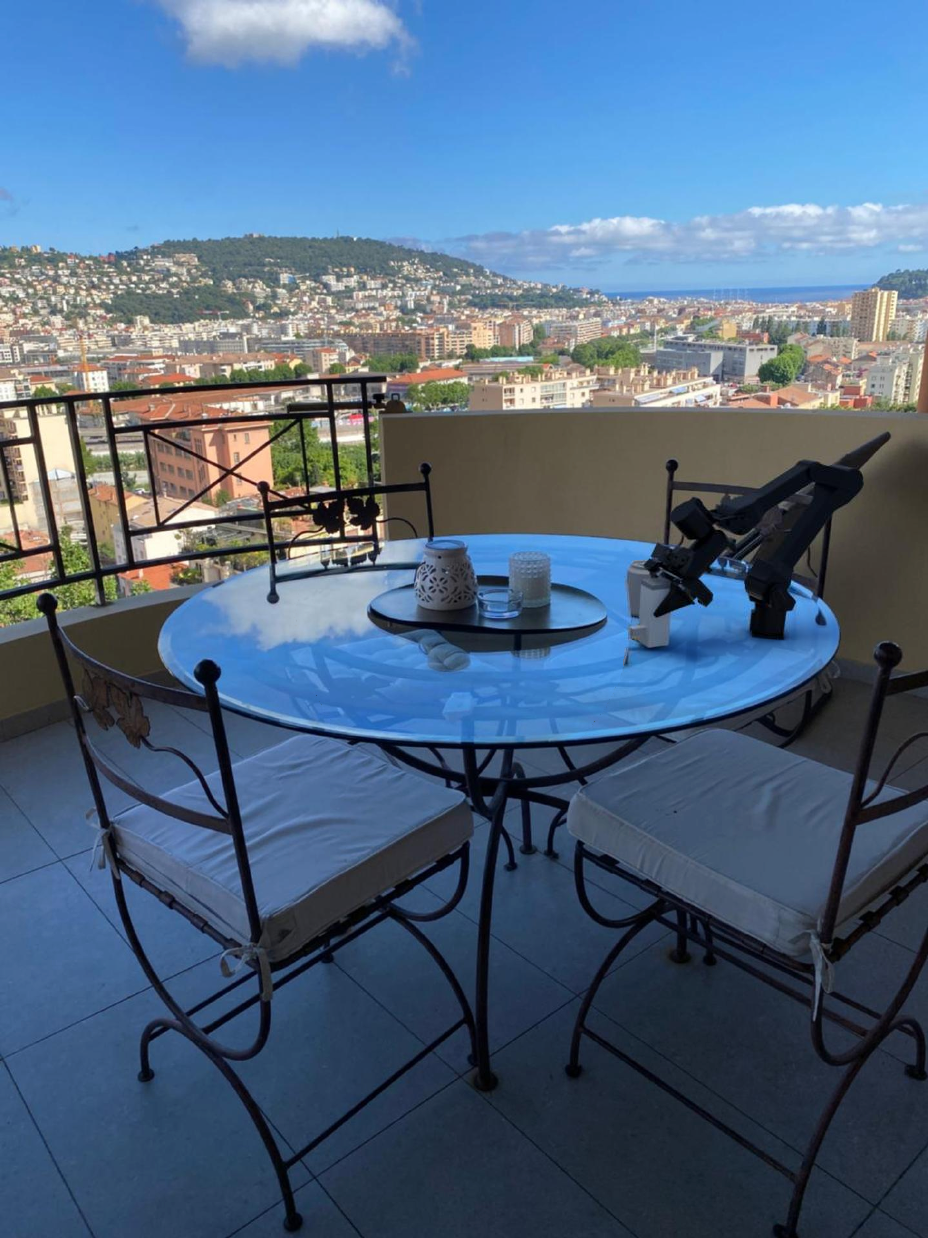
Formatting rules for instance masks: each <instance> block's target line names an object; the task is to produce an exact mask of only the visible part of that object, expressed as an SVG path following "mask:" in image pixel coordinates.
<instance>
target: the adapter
mask: <svg viewBox="0 0 928 1238" xmlns="http://www.w3.org/2000/svg"><path fill="white" fill-rule="evenodd" d="M670 584H671V582H669V581H667V580H665V579H663V578H651V579H641V593H640V611H639V617H638V625H630V628H629V636H630V635H631V636H632V637H633V636H638V641H640V642H639V643H641V644H642V645H644V646H645V647H647V648H655V647H663V646H664V647H665V646H669V641H670V627H671V626H670V625H671V614H672V613H671V612H670V613H667V614H665V615H663V616H660V617H658V618H656V617H655V616H654V615H653V613H654V612H655V610H656V609H657V608H658V606H659V605H660V604H661V602H662V601H663V600H664V599H665V597H666V596H667V595H668V594H669V591H670ZM638 641H637V642H638Z"/></svg>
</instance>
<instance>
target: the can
mask: <svg viewBox="0 0 928 1238" xmlns="http://www.w3.org/2000/svg"><path fill="white" fill-rule="evenodd" d="M647 560H648V559H647ZM647 560H646V559H640V560H637V559H636V560H632V561H631V562H630V566H628V568H627V571H626V585H627V590H628V600H629V610H630V616H631V617H632V616H633V617H637V618H639V611H640V593H641V579H651V575H650V574H649V571H648V570H647V569H646V568H645V567H644V566H643V565H644V564H645V563H646V562H647Z"/></svg>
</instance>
